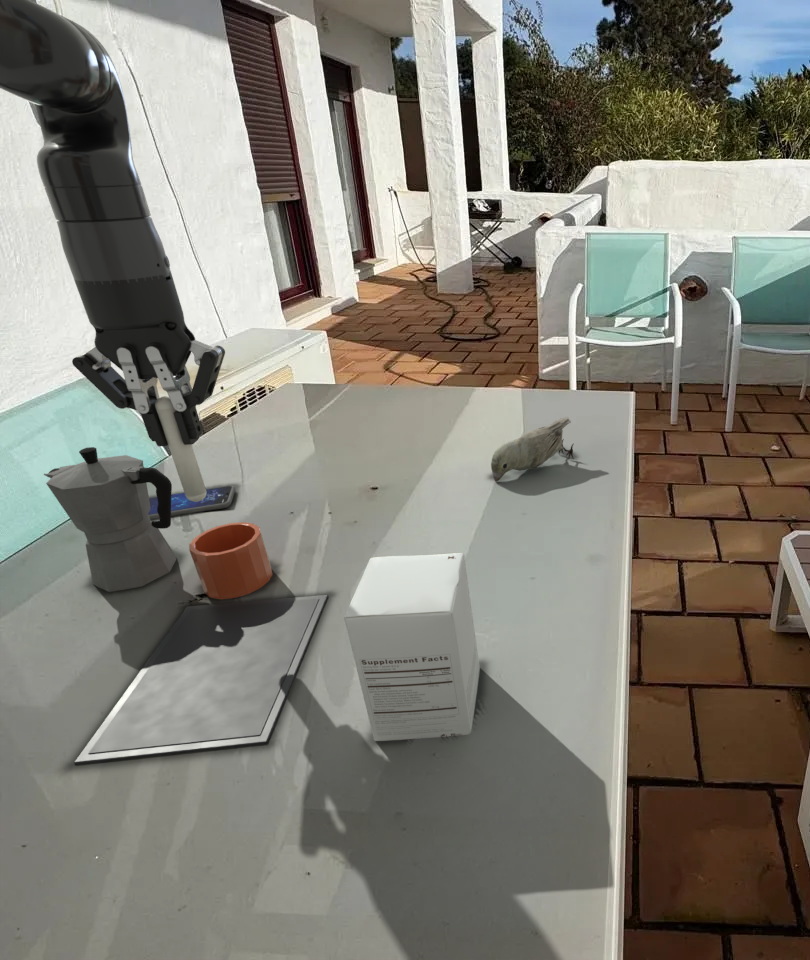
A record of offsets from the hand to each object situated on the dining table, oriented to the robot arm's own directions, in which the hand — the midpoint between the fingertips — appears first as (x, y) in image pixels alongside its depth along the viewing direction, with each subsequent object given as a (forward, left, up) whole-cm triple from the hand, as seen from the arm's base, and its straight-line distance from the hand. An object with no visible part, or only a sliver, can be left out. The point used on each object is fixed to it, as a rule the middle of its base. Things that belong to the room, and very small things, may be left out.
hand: (179, 442), depth 67 cm
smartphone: (-18, +27, -21) cm, 39 cm away
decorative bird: (+37, +33, -22) cm, 54 cm away
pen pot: (-1, +4, -21) cm, 22 cm away
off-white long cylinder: (0, 0, -7) cm, 7 cm away
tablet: (+3, -12, -21) cm, 25 cm away
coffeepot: (-14, +8, -22) cm, 27 cm away
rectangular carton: (+25, -20, -22) cm, 39 cm away
